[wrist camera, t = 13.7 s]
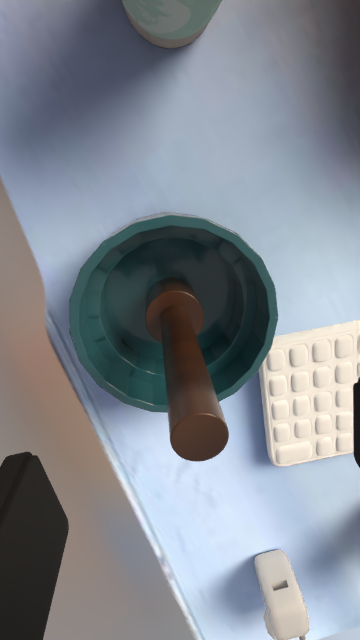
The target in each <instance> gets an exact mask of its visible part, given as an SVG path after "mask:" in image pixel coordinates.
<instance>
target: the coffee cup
mask: <svg viewBox="0 0 360 640" xmlns="http://www.w3.org/2000/svg"><path fill="white" fill-rule="evenodd" d="M221 2H222V0H122V3H123V6H124V9H125V11H126V14H127V16H128V18H129V20H130V22H131V24H132V25H133V27H134V28H135V29H136V31H137V32H138V33H139V34H140V35H141V36H142V37H143V38H145V39H146V40H147V41H149V42H150V43H152V44H154V45H157V46H160V47H164V48H178V47H182V46H185V45H187V44H189V43H191V42H192V41H194V40H195V39H196V38H197V37H198V36H199V35H200V34H201V33H202V32H203V31H204V29H205V28H206V26H207V25H208V23H209V21H210V20H211V18H212V17H213V15H214V13H215V12H216V10H217V8H218V7H219V5H220V3H221Z"/></svg>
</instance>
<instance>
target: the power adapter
mask: <svg viewBox="0 0 360 640" xmlns="http://www.w3.org/2000/svg"><path fill="white" fill-rule="evenodd" d="M254 564H255V569H256V573H257V577H258V581H259V585H260V589H261V593H262V596H263V600H264V603H265V607H266V609H265V613H264V621H265V624H266V628H267V631H268V634H269V635H270V636H271V637H272V638H273V639H274V640H288V639H292V638H296V637H299V639H300V640H305V634H307V633H308V631H309V617H308V611H307V607H306V605H305V602H304V598H303V596H302V593H301V590H300V587H299V585H298V582H297V579H296V577H295V574H294V572H293V569H292V567H291V564H290V562H289V559H288V557H287V555H286V553H285V552H284V551H283V550H281V549H280V550H274V551H270V552H266V553H263V554H260V555H257V556H256V557H255V559H254Z"/></svg>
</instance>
